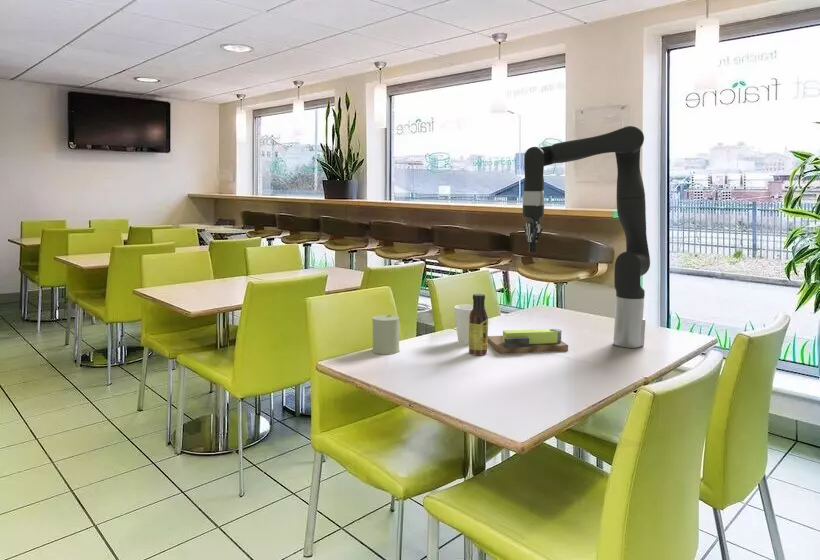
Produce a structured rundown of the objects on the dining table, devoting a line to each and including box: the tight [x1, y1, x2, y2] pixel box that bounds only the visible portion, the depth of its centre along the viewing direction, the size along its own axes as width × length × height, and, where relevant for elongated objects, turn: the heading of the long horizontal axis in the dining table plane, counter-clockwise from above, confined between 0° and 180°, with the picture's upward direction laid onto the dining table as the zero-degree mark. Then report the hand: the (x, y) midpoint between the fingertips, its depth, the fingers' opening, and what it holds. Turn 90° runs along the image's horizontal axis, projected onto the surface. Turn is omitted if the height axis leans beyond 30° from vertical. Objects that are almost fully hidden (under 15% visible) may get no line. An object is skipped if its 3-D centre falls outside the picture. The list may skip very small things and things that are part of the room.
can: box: [371, 314, 400, 355], centre depth 193 cm, size 9×9×12 cm
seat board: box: [488, 335, 569, 355], centre depth 199 cm, size 24×16×5 cm, turn 99°
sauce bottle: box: [468, 293, 489, 356], centre depth 189 cm, size 7×6×20 cm
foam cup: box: [453, 304, 473, 346], centre depth 203 cm, size 10×9×13 cm
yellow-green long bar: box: [502, 328, 562, 344], centre depth 195 cm, size 20×4×4 cm, turn 97°
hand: (532, 252), depth 207 cm, fingers closed
